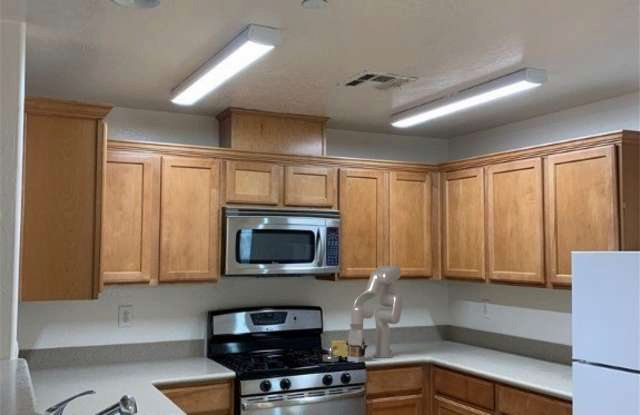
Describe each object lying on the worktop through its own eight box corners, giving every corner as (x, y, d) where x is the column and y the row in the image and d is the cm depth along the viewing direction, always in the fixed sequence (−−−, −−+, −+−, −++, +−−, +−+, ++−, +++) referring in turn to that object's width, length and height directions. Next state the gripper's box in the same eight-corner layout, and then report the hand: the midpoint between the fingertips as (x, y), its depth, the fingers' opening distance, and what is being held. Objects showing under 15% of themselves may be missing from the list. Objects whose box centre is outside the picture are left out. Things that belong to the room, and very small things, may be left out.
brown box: (354, 355, 391) (355, 345, 392) (364, 356, 387) (364, 346, 388) (348, 356, 386) (348, 346, 386) (358, 357, 381) (358, 347, 382)
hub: (328, 358, 391) (329, 346, 392) (341, 360, 385) (342, 347, 386) (319, 360, 383) (319, 347, 384) (332, 362, 377) (332, 349, 378)
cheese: (347, 357, 399) (348, 342, 400) (331, 357, 399) (331, 341, 400) (347, 355, 409) (347, 340, 410) (331, 354, 410) (331, 339, 411)
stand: (354, 359, 392) (354, 345, 392) (365, 361, 387) (365, 346, 388) (347, 361, 385) (347, 346, 386) (358, 362, 380) (358, 347, 381)
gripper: (342, 326, 390) (341, 353, 388) (365, 328, 380) (365, 356, 378) (348, 325, 396) (348, 352, 394) (372, 327, 386) (371, 355, 384)
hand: (356, 354), depth 386 cm, fingers open, 9 cm apart
